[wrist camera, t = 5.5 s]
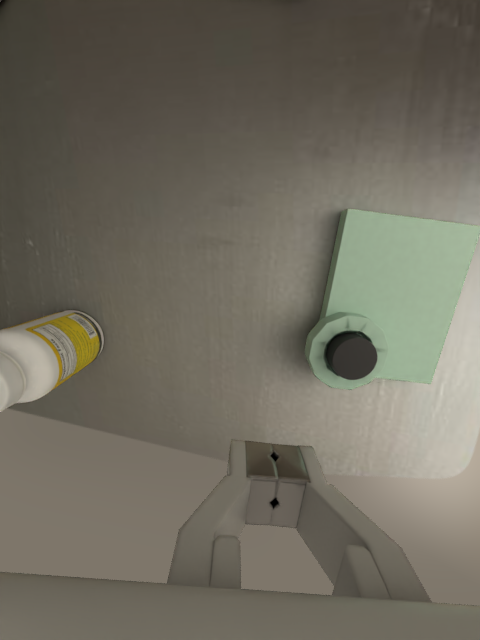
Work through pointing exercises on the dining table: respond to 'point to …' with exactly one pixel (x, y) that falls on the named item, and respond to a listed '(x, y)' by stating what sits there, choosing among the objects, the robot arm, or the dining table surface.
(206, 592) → the robot arm
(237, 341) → the dining table surface
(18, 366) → the supplement bottle
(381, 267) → the scale
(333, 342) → the tare button
